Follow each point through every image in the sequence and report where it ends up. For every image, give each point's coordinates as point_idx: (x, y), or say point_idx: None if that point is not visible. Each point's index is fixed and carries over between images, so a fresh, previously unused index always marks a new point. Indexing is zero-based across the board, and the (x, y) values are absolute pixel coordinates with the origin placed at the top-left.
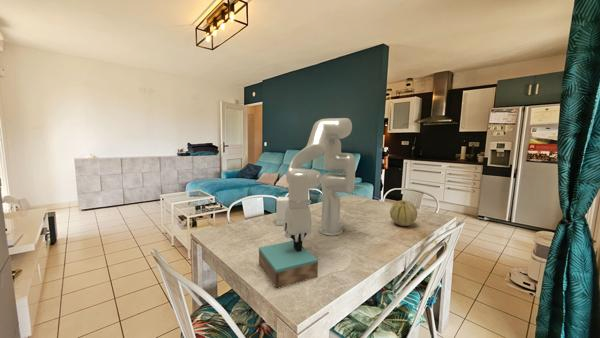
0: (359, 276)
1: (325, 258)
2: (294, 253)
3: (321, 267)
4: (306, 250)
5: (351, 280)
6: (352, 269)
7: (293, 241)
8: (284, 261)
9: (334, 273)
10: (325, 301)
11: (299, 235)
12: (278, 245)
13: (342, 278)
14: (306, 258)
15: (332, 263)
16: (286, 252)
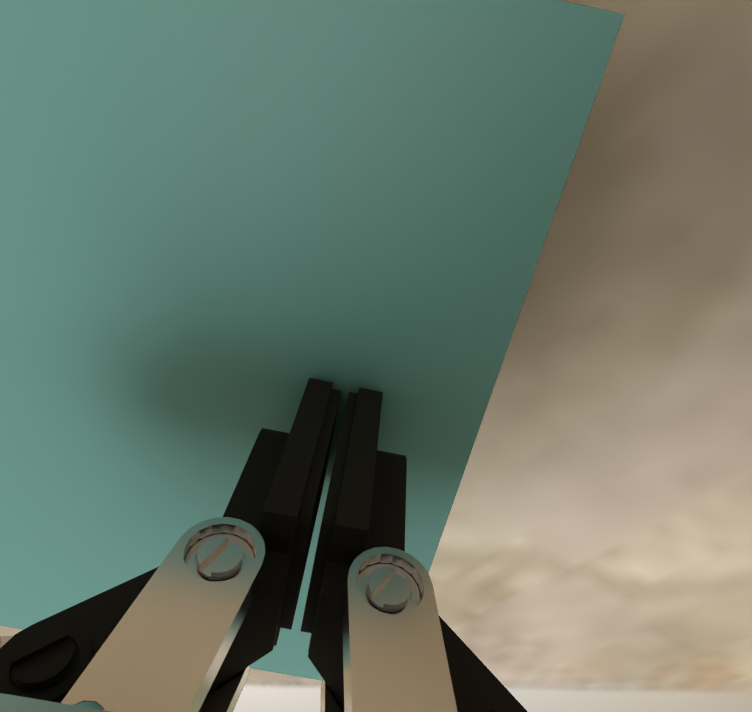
0: (637, 671)
1: (740, 380)
2: (228, 479)
3: (537, 469)
4: (441, 512)
5: (550, 665)
6: (700, 615)
7: (536, 51)
8: (16, 545)
9: (539, 573)
10: (263, 674)
11: (370, 660)
12: (74, 25)
13: (525, 629)
14: (293, 628)
15: (683, 482)
16: (126, 393)
